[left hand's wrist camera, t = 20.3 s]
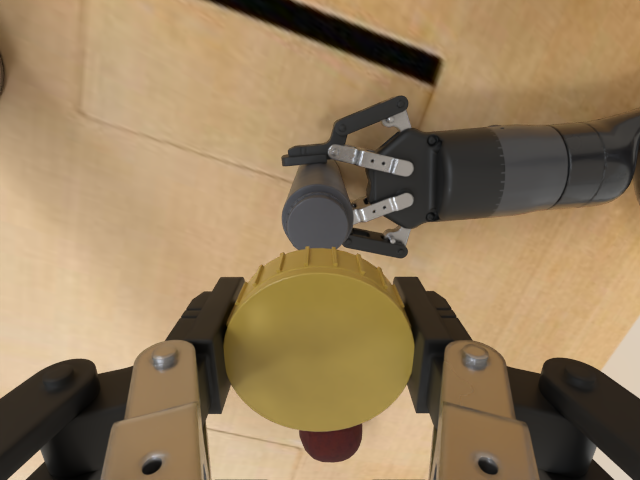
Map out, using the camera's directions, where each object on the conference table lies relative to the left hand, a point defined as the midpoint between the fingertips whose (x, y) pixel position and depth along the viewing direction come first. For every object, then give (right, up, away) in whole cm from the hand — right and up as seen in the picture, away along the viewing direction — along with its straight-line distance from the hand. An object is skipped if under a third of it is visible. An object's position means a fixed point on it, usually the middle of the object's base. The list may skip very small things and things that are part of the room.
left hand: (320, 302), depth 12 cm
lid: (0, -1, -2) cm, 3 cm away
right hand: (-3, +6, +18) cm, 20 cm away
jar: (0, +9, +24) cm, 26 cm away
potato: (+1, -19, +34) cm, 39 cm away
